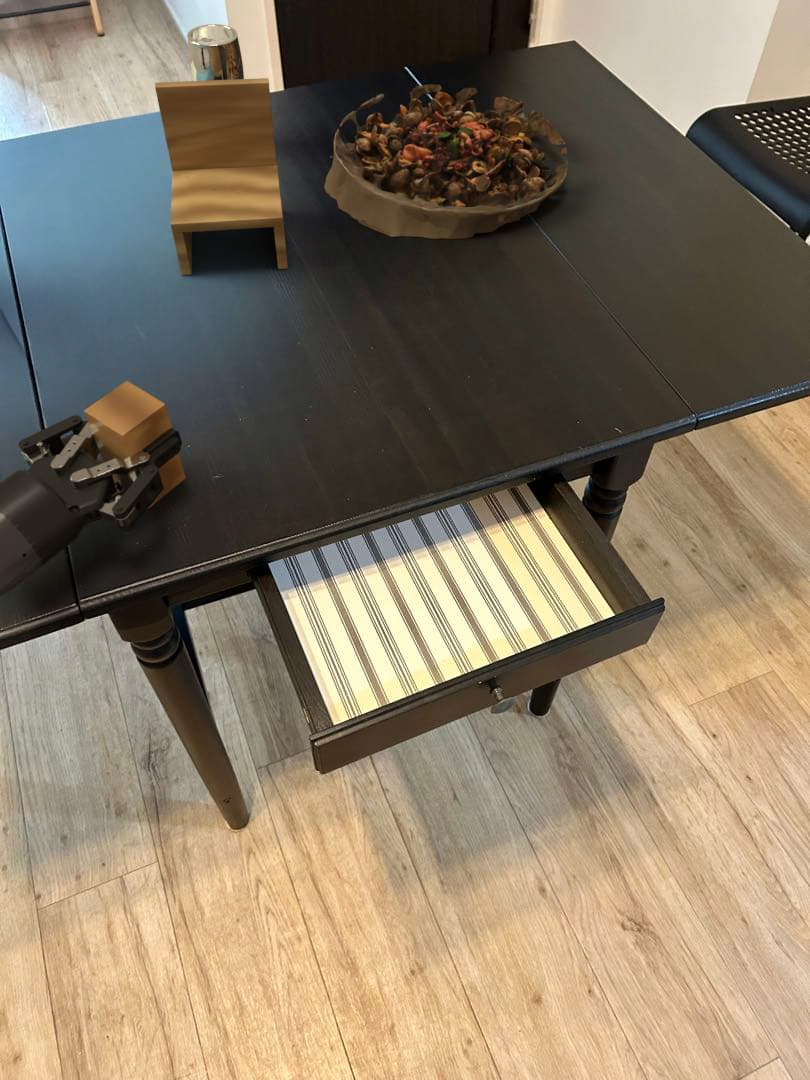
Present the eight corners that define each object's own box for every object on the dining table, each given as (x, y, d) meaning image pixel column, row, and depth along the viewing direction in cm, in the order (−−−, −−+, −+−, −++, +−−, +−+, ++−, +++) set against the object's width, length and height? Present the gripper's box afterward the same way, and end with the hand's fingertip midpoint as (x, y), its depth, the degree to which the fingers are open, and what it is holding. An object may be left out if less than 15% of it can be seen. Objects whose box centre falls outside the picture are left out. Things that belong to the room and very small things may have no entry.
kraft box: (147, 509, 79) (122, 435, 71) (112, 485, 80) (83, 410, 72) (185, 478, 81) (165, 404, 73) (150, 455, 83) (126, 380, 75)
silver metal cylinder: (218, 131, 123) (201, 19, 111) (260, 140, 121) (248, 28, 109) (195, 153, 119) (175, 40, 107) (239, 162, 117) (224, 49, 105)
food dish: (473, 102, 132) (480, 50, 126) (611, 203, 116) (626, 148, 110) (279, 151, 119) (276, 95, 113) (404, 271, 103) (408, 214, 97)
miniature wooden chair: (287, 268, 102) (274, 132, 89) (181, 275, 101) (151, 138, 88) (281, 211, 110) (268, 77, 97) (182, 216, 109) (155, 82, 95)
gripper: (47, 551, 63) (205, 427, 72) (-66, 466, 68) (94, 360, 77) (75, 604, 69) (218, 484, 78) (-31, 522, 74) (114, 418, 83)
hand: (155, 423), depth 77 cm, fingers closed on kraft box, 5 cm apart
